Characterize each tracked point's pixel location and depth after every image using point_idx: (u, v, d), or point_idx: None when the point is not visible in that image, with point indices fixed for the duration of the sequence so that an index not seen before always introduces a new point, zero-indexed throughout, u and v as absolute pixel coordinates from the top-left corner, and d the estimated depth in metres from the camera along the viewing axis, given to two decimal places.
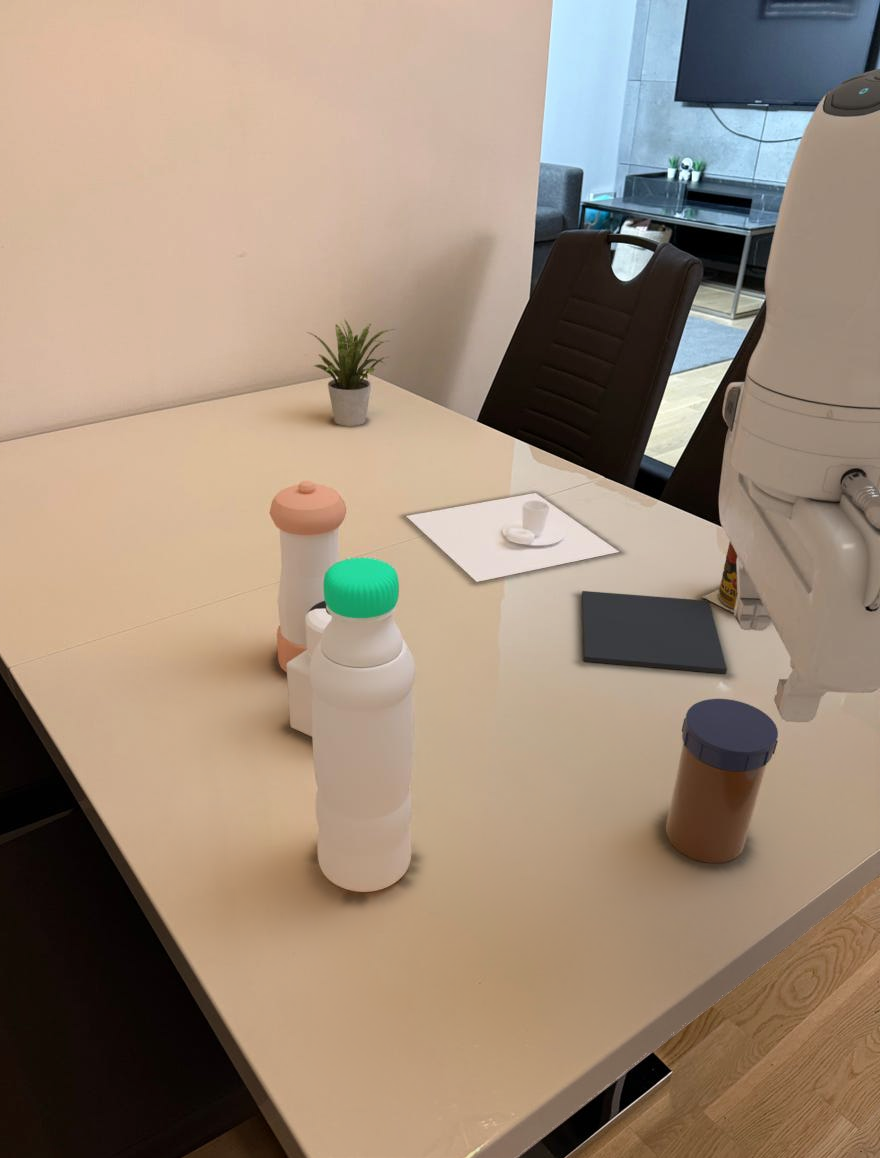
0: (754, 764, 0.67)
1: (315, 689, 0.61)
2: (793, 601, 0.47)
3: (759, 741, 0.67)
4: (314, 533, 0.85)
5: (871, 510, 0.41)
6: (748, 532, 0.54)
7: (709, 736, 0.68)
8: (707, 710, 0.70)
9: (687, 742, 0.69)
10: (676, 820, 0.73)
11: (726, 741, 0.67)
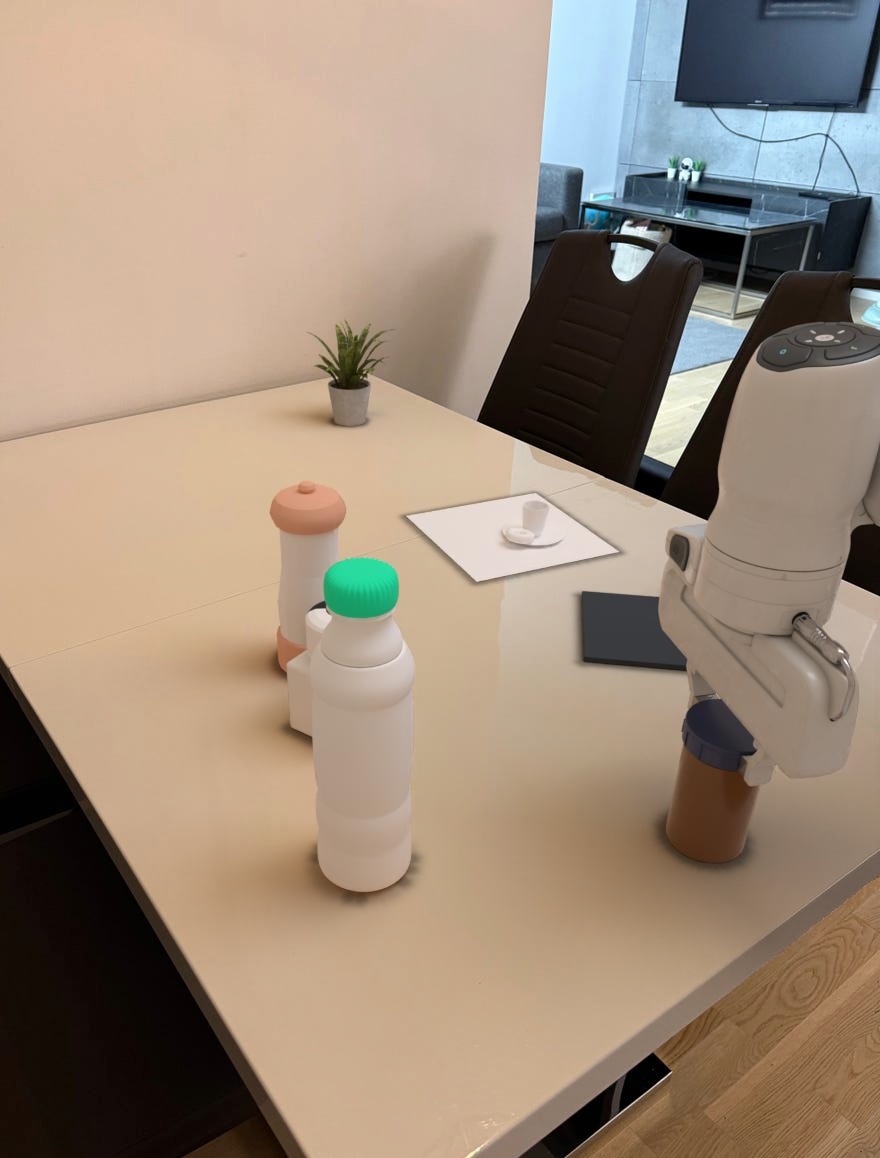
0: None
1: (315, 689, 0.61)
2: (763, 709, 0.61)
3: None
4: (314, 533, 0.85)
5: (827, 650, 0.56)
6: (700, 645, 0.69)
7: (709, 736, 0.68)
8: (707, 710, 0.70)
9: (686, 742, 0.69)
10: (676, 820, 0.73)
11: (726, 741, 0.67)
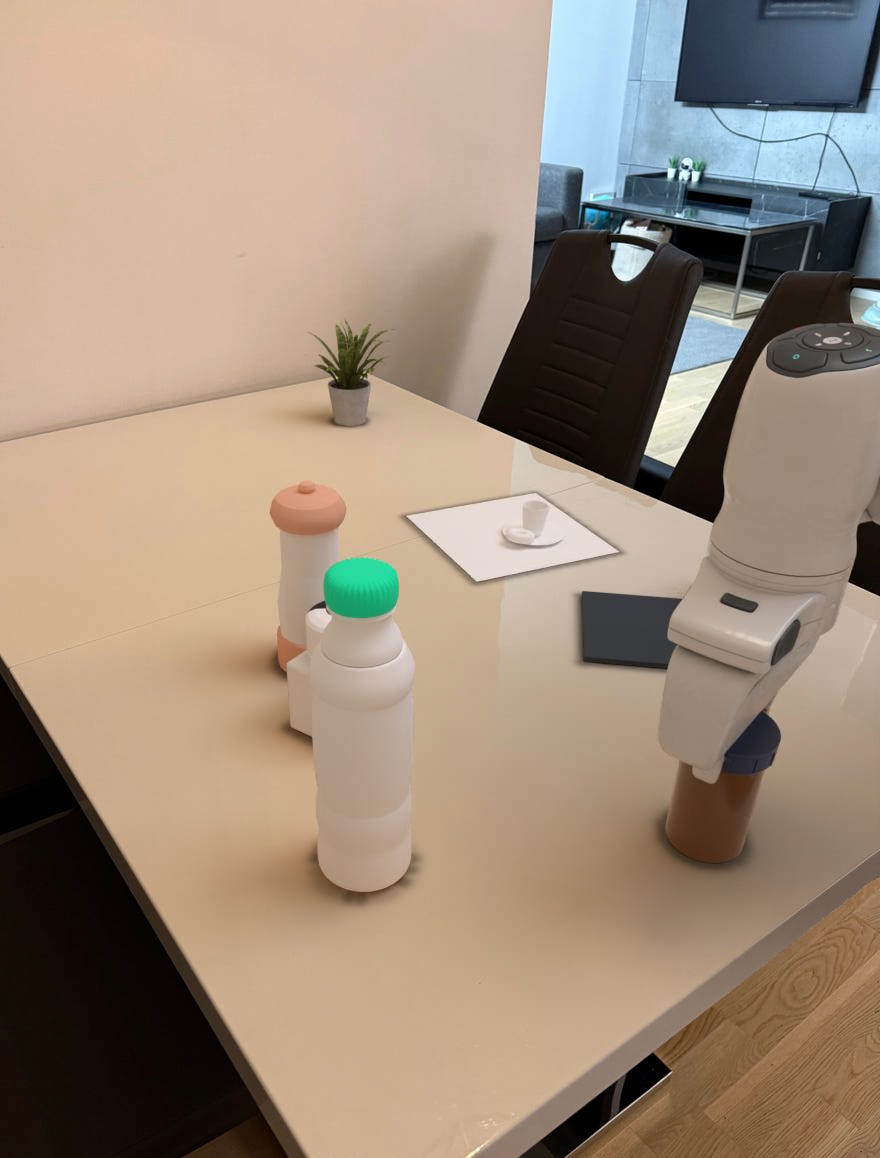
0: None
1: (315, 689, 0.61)
2: None
3: None
4: (314, 533, 0.85)
5: None
6: (757, 699, 0.63)
7: (771, 732, 0.68)
8: (735, 744, 0.67)
9: (772, 759, 0.67)
10: (676, 821, 0.73)
11: (762, 721, 0.69)
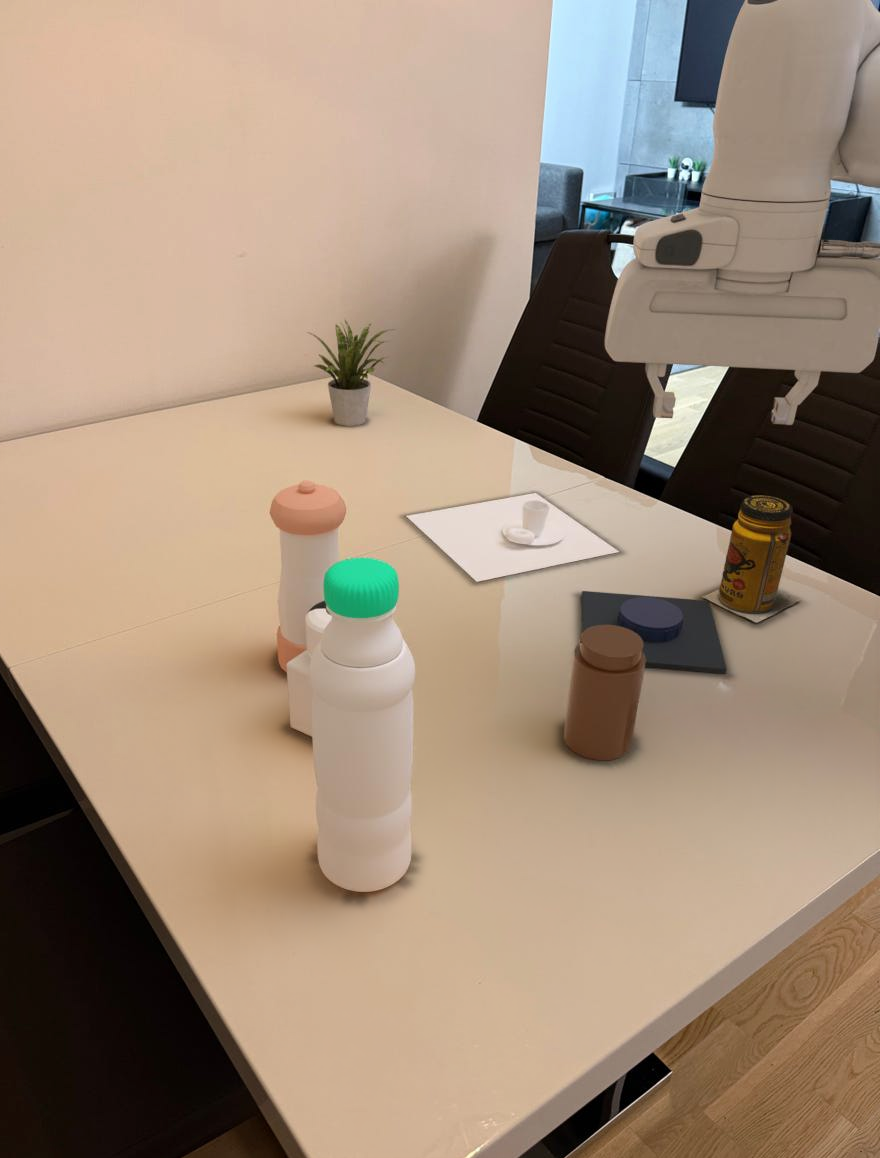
0: None
1: (315, 689, 0.61)
2: (818, 335, 0.71)
3: (652, 601, 1.02)
4: (314, 533, 0.85)
5: (872, 248, 0.69)
6: (700, 335, 0.73)
7: (676, 614, 0.99)
8: (651, 621, 0.98)
9: (677, 632, 0.99)
10: (570, 724, 0.83)
11: (671, 609, 1.00)
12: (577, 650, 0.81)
